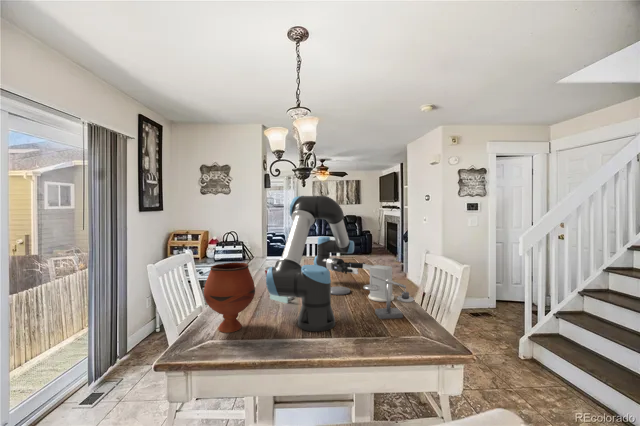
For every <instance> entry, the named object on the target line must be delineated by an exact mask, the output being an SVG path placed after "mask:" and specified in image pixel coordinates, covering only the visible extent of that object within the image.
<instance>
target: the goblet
mask: <svg viewBox="0 0 640 426" xmlns="http://www.w3.org/2000/svg"><path fill="white" fill-rule="evenodd" d="M209 269H210V270H209V273H208V276H207V278H206V281H205V284H204V288H203V296H204V300H205V302H206V305H207V306H208V307H209V308H211V310H213V311H214V312H215V313H217V314H219V315H222V318H223V319H224V320H223V321H222V322H221V323H220V325H219V326H218V328H217V330H218V331H219V332H222V333H224V334H225V333H234V332H237V331H240V329H242V324H241V322H240V321H239V319H238V317H239V314H240V313H241V312H243V311H244V310H246V309H247V308H248V307H249V305H250V304H251V303H252V302H253V300H254V298H255V295H256V287H255V282H254V279H253V276H252V273H251V271H250V269H249V263H247V262H225V263H217V264H213V265H212V266H211V267H210V268H209Z"/></svg>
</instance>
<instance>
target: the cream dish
mask: <svg viewBox="0 0 640 426" xmlns="http://www.w3.org/2000/svg"><path fill="white" fill-rule="evenodd" d="M367 298H368V299H369V300H371V301H374V302H378V303H379V302H381V303H382V302H384V303H387V302H386V299H383V298H377V297H371V296H370V293H369V294H368V296H367ZM394 300H395V295H394V294H392V295H391V302H392V301H394Z"/></svg>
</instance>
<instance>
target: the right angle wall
mask: <svg viewBox="0 0 640 426" xmlns="http://www.w3.org/2000/svg"><path fill="white" fill-rule="evenodd" d="M293 299H294V297H285V296H280V297H279V296H276V295H271V294H270V293H269V300H272V301H276V302H280V303H284V304H289V301H291V300H293Z"/></svg>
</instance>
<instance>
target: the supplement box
mask: <svg viewBox="0 0 640 426" xmlns="http://www.w3.org/2000/svg"><path fill="white" fill-rule="evenodd" d="M372 274H373V275H376V276H379V277H382V278H385V279H388V278H389V279H391V281H393V266H389V265H382V264H381V265H380V264H375V265H373V266H372V267H370V270H369V285H370V284H371V275H372ZM372 285H378V286H380V290H377V291H369V294H370V296H371V297H377V298H383V299H386V282H385V281H382V280H379V279H376V278H373V277H372ZM391 295H393V284H391Z"/></svg>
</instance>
